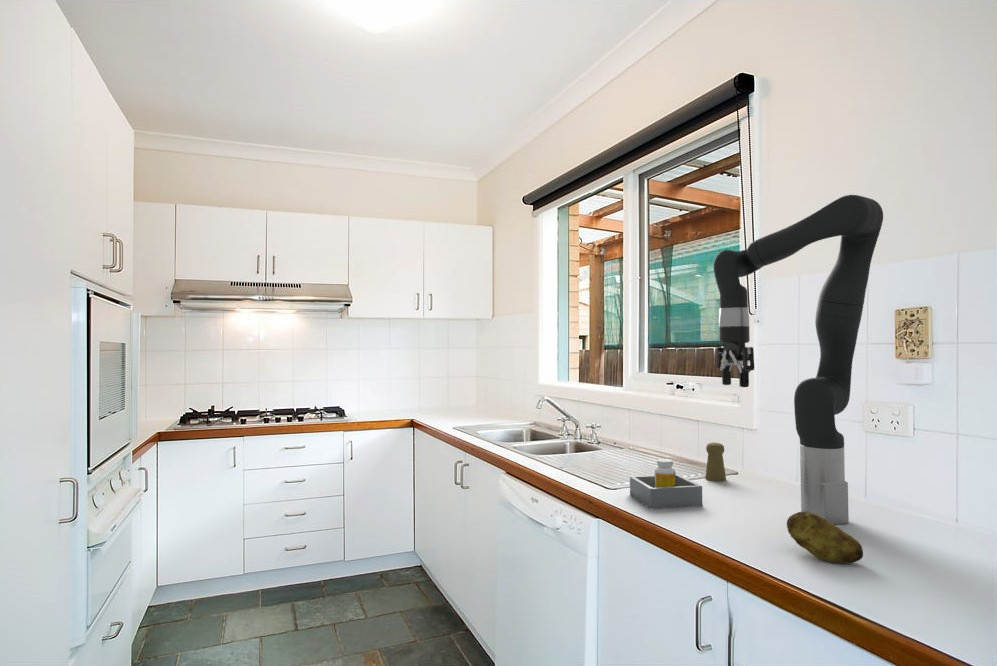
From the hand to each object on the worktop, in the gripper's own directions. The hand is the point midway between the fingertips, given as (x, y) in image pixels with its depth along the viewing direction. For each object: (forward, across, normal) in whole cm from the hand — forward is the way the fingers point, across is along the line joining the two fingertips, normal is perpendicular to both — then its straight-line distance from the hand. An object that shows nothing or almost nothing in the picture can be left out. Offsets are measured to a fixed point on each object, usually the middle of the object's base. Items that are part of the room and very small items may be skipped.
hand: (735, 385), depth 159 cm
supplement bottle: (+29, +3, +19) cm, 35 cm away
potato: (+30, -42, +7) cm, 52 cm away
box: (+30, +3, +19) cm, 36 cm away
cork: (+30, +22, -6) cm, 38 cm away
